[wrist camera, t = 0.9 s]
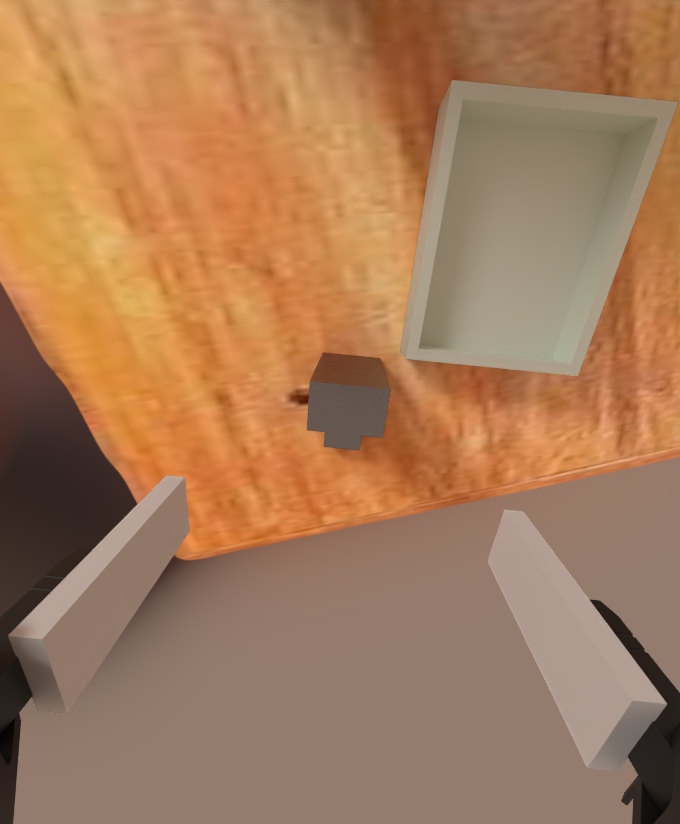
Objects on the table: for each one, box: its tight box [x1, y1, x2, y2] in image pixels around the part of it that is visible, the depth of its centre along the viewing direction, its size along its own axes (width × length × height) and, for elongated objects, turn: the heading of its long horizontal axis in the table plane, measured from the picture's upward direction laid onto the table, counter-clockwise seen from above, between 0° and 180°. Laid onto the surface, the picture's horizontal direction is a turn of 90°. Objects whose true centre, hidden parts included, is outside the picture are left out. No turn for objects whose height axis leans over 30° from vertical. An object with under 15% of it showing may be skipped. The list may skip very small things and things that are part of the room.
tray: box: [400, 80, 678, 376], centre depth 29 cm, size 20×16×4 cm
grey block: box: [307, 353, 390, 450], centre depth 31 cm, size 10×6×11 cm, turn 175°
